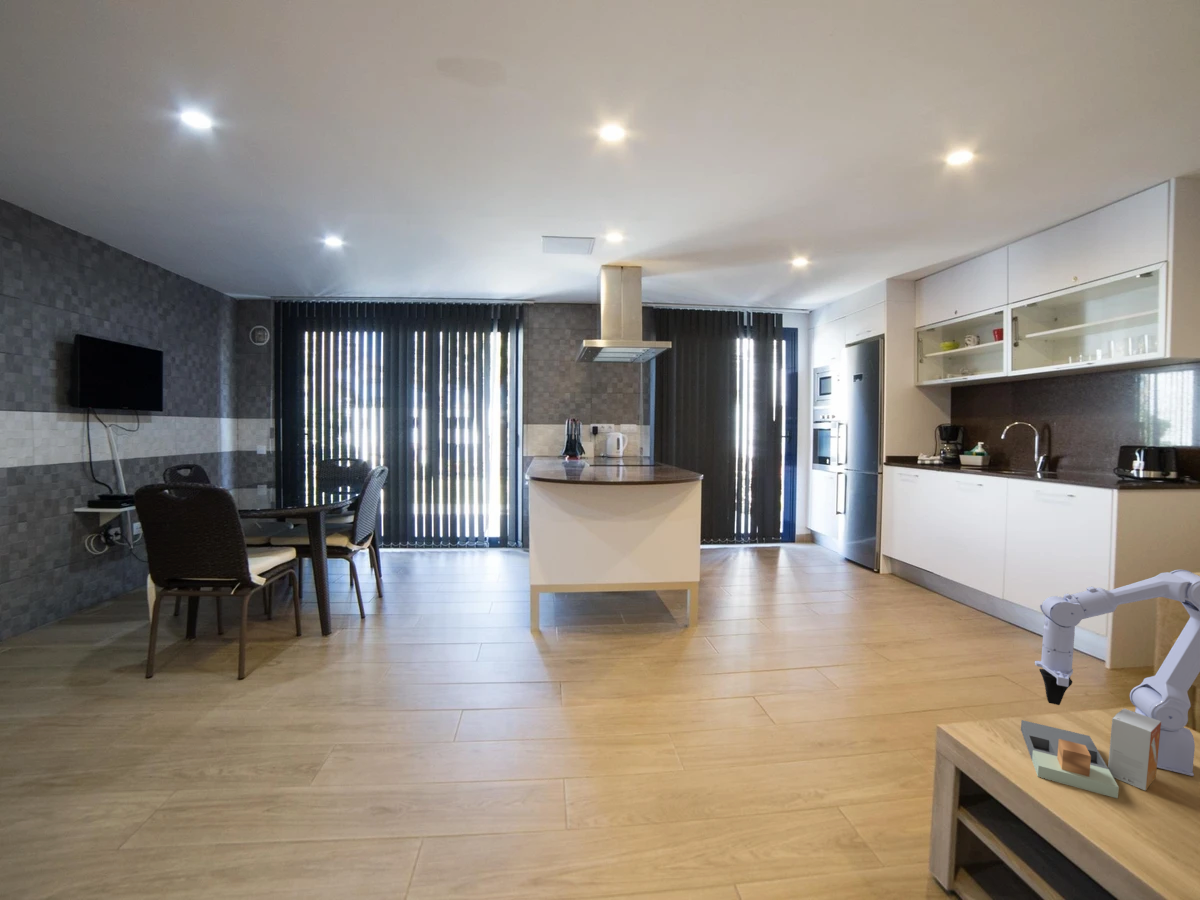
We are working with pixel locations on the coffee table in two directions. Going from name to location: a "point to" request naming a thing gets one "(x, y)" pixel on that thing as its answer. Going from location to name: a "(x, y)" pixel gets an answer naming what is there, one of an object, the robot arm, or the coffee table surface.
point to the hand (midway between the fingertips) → (1053, 702)
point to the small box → (1134, 748)
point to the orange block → (1074, 757)
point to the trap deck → (1047, 765)
